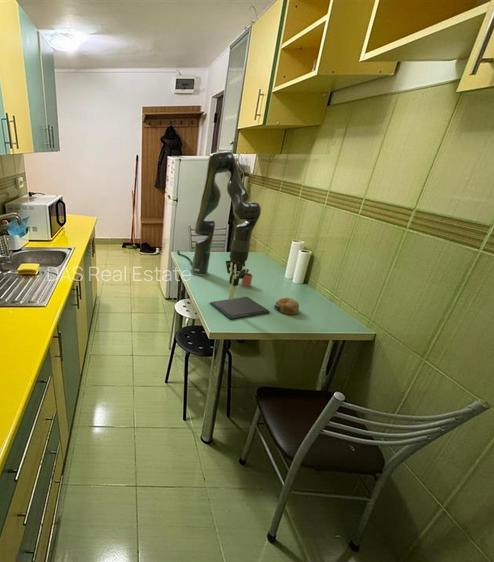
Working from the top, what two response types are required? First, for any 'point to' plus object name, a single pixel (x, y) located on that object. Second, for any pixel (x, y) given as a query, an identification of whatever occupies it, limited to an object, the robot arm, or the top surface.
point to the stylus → (232, 289)
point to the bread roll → (287, 306)
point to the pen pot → (247, 280)
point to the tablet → (239, 308)
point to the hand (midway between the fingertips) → (233, 284)
